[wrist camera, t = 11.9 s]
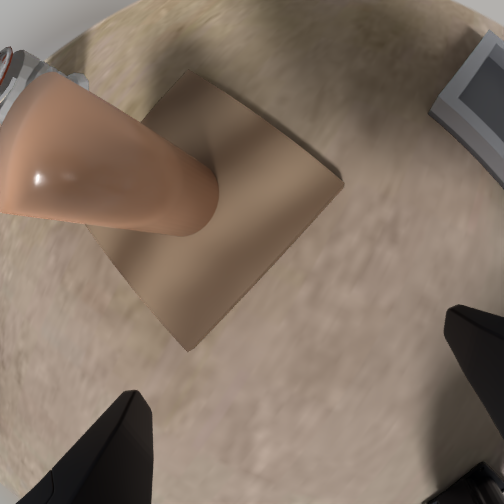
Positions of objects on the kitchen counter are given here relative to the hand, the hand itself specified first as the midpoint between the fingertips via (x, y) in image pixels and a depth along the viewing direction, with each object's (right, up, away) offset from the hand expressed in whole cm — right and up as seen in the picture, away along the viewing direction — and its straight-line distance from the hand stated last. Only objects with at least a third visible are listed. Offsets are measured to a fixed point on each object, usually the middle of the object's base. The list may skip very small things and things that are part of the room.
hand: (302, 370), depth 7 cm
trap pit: (+17, +12, +7) cm, 22 cm away
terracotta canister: (-6, +6, +11) cm, 14 cm away
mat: (-5, +7, +12) cm, 15 cm away
